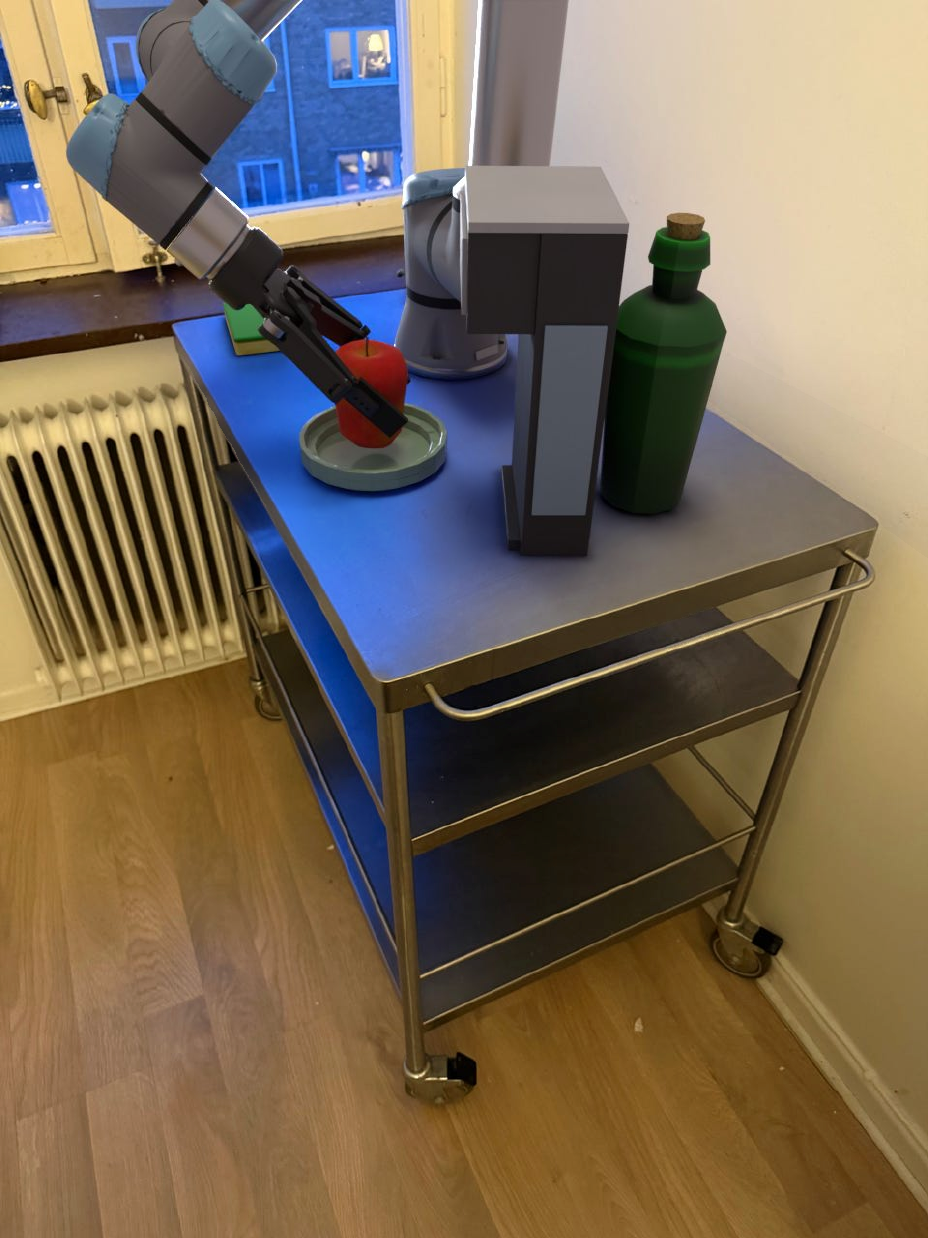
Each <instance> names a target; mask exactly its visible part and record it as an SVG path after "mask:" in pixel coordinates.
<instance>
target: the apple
mask: <svg viewBox="0 0 928 1238" xmlns="http://www.w3.org/2000/svg"><path fill="white" fill-rule="evenodd" d="M334 351H335V352H336V354H337V355H338V356H339V357H340V359H341V360H342V361H343V362H344V363H345V365H346V366H347V367H348V368H349V370H350V371H351V372H352V373H353V375H354V376H355V377H356V378H357V380H358V379H359V378H360V377H362V378H363V379H364V380H366V381H367V382H368V383H369V384H370V385H371V386H372V387H373V388H374V389H376V390H377V391H378V392H379V393H380V394H381V395H382V396H383V397H385V398H386V399H387V400H388V401H389V402H390V403H391V404H392V405H394V406H395V407H396V408H397V409H398V410H399V411H400V412H401V413H403V414H404V403H406V396H407V386H408V385H407V377H409V371H408V366H407V364H406V362H405V359H404V357H403V355H402V353H401V352H400V350H399V349H398V348H396V347H394V345H392V344H390V343H386V342H384V341H380V340H375V339H370V337H369V336H366V338H365V339H363V340H357V341H352V342H349V343H347V344H345V345H343V346H341V347H340V346H339V347H338V348H337V349H336V350H334ZM334 406H336V411H337V418H338V425H339V430H340V432H341V434H342V435H343V436H344V437H345V438H347V439H348V440H349V441H351V442H352V443H354V444H355V445H357V446H359V447H364V448H374V449H375V448H384V447H386V446H389V445H390V444H391V443H392V442H393V441H394V440H395V439H396V438H397V436H398V435H399V434H400V433H401V431H402V428H401V429H400V430H398V431H397V432H396V433H395V434H394V435H393V436H392V437H391V438H389V437H388V436H387V435H386V434H384V433H383V432H382V431H381V430H380V429H379V428H377V427H376V426H375V425H374V424H373V423H372V422H371V421H369V420H368V419H367V418H366V417H365V416H364V415H362V414H361V413H360V412H359V411H358V410H357V409H356V408H354V407H353V406H352V405H351V404H350V403H349V402H347V401H346V400H345V399H344V398H343V399H342V400H341V401H340V402H339V403H338V404H335V403H334Z"/></svg>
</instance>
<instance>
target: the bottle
mask: <svg viewBox="0 0 928 1238" xmlns="http://www.w3.org/2000/svg"><path fill="white" fill-rule="evenodd" d="M705 223H706V219H705V217H704V216H701V215H700V214H696V213H691V212H674V213H670V214H668V215H667V216H666V226H663V227H661V228H660V229H658V230H656V232H655V233H654V234H655V235H654V237H653V240H652V243H651V245H650V249H649V252H648V255H647V260H648V263H650V264H651V265H653V266H652V278H651V279H652V281H651V284H650V285H647V286H645V287H644V288H641V289H639V290H637V291H635V292H634V293H632V294H631V295H629V296H628V297H626V298H625V299H623V301H622V302H621V303H620V304H619V309H618V317H617V325H616V333H615V341H614V349H613V356H612V364H611V372H610V380H609V388H608V396H607V404H606V412H605V419H604V427H603V436H602V453H601V468H600V469H601V470H600V494H601V497H603V499H605V500H606V502H608V503H609V504H610V505H611V506H613V507H616V508H618V509H621V510H624V511H627V512H629V513H632V514H649V515H650V514H652V515H654V514H658V513H661V512H662V513H663V512H665V511H669V510H672V509H673V508H674V507H675V506H676V505H677V504H678V503H679V502H680V500H682V496H683V492H684V489H685V486H686V481H687V478H688V474H689V470H690V467H691V463H692V459H693V456H694V453H695V449H696V446H697V441H698V438H699V433H700V430H701V427H702V424H703V420H704V416H705V412H706V408H707V405H708V402H709V397H710V395H711V391H712V387H713V383H714V380H715V376H716V373H717V369H718V365H719V361H720V358H721V355H722V354H721V353H722V351H723V347H724V343H725V339H726V336H727V333H728V331H727V328H726V326H725V323H724V320H723V318H722V316H721V313H720V310H719V309H718V306H717V304H716V302H715V301H713V300H712V299H711V298H710V297H709V296H707V295H706V294H705V293H704V292H702V291H701V290H699V289H698V287H699V284H700V280H701V276H702V274H703V270H705V269H706V268H708V267H709V266H710V265H711V236H710V234H709V232H708V231H705V230H703V228H704V225H705Z"/></svg>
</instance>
